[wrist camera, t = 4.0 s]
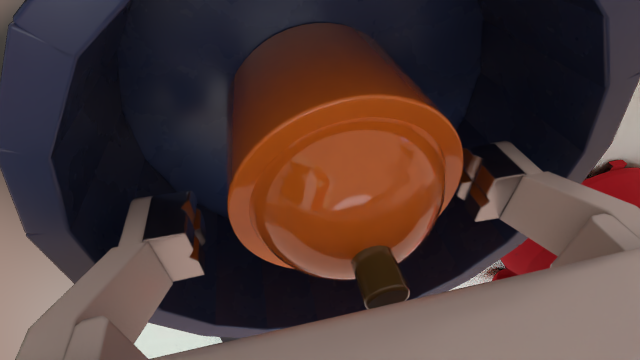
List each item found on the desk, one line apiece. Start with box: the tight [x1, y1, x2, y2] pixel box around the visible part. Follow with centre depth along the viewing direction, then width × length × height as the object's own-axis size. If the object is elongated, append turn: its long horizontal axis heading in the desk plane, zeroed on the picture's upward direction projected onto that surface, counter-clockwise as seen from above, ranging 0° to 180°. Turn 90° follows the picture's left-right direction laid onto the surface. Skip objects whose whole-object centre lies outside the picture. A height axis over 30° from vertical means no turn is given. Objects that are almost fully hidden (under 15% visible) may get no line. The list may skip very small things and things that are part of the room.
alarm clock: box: [492, 159, 640, 281], centre depth 22 cm, size 10×6×15 cm
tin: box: [0, 0, 640, 338], centre depth 10 cm, size 14×14×6 cm
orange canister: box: [226, 23, 464, 309], centre depth 9 cm, size 6×6×7 cm
